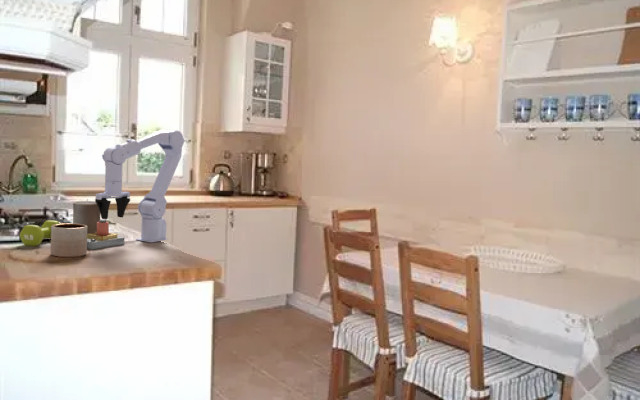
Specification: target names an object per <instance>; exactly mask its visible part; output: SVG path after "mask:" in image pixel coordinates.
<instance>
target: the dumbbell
mask: <svg viewBox="0 0 640 400" xmlns="http://www.w3.org/2000/svg"><path fill="white" fill-rule="evenodd" d="M55 224H61V222H59V221H58V220H53V219H52V220H51V219H50V220H49V219H48V220H45V221H44V222H43V223H42V225H41V227H40V226H39V225H38V224H37V225H36V224H27V225H24V227H22V229H21V231H20V233H19V238H20V240H21V242H22V244H23V245H24V246H26V247H38V246H39V245H40V244H41V243H42V241H43V240H44V238H51V226H52V225H55Z"/></svg>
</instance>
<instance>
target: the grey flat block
mask: <svg viewBox="0 0 640 400" xmlns="http://www.w3.org/2000/svg"><path fill="white" fill-rule="evenodd" d="M122 245H125V237H123V236H118V233H114V232H109V235H106V236H99V235H97V232H95V233H88V234H87V250H92V251H93V250H99V249H104V248H109V247H114V246H115V247H116V246H122Z"/></svg>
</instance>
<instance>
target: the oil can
mask: <svg viewBox="0 0 640 400" xmlns="http://www.w3.org/2000/svg"><path fill="white" fill-rule="evenodd" d="M109 225H110V223H109V221H107V219H100V220H99V222H97V235H99V236H106V235H109V233H110V231H109V230H110V228H109V227H110V226H109Z"/></svg>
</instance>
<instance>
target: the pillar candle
mask: <svg viewBox="0 0 640 400" xmlns="http://www.w3.org/2000/svg"><path fill="white" fill-rule="evenodd" d="M72 207H73V209H72V223H74V224H83V225H87V234H88V233H95V232H97V222H99V220H101V213H100V210H99V207H98V205H97V203H96V202H95V200H94V201H91V200H90V201H89V199H87V200H84V201H83V200H81V201H80V200H79V201H73V202H72Z"/></svg>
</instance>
